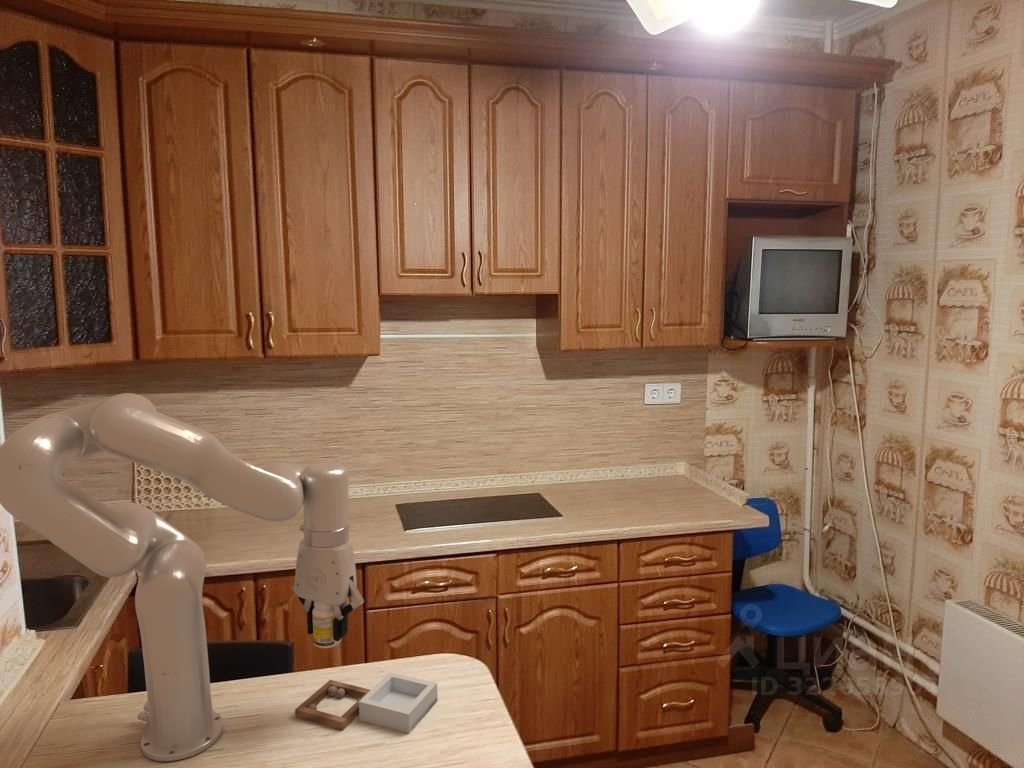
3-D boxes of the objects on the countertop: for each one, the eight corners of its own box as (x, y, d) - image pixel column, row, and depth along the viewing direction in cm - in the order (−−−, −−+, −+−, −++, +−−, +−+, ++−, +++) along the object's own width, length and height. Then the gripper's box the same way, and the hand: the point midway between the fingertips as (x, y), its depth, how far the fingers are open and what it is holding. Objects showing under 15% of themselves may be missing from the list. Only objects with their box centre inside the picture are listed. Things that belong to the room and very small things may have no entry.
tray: (295, 717, 125) (294, 707, 124) (330, 687, 134) (330, 678, 134) (342, 730, 121) (342, 720, 121) (375, 698, 130) (375, 689, 130)
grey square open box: (359, 720, 124) (358, 701, 123) (390, 689, 133) (389, 672, 132) (409, 733, 120) (408, 714, 119) (437, 700, 129) (437, 683, 129)
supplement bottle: (330, 633, 128) (329, 588, 127) (346, 641, 125) (345, 596, 124) (307, 643, 125) (306, 597, 124) (323, 652, 122) (322, 605, 121)
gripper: (272, 534, 122) (274, 633, 125) (355, 550, 116) (355, 654, 118) (300, 521, 129) (302, 615, 132) (380, 535, 123) (380, 634, 125)
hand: (327, 633), depth 125 cm, fingers closed on supplement bottle, 4 cm apart
